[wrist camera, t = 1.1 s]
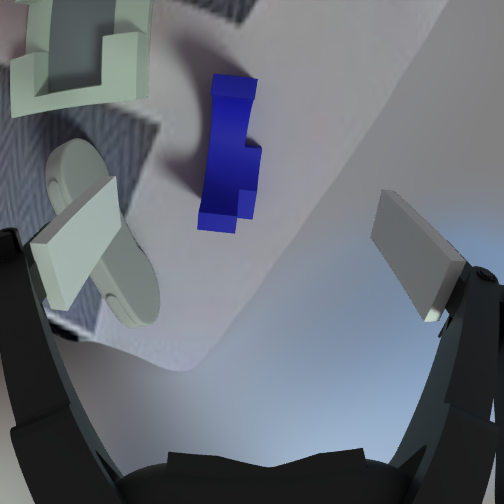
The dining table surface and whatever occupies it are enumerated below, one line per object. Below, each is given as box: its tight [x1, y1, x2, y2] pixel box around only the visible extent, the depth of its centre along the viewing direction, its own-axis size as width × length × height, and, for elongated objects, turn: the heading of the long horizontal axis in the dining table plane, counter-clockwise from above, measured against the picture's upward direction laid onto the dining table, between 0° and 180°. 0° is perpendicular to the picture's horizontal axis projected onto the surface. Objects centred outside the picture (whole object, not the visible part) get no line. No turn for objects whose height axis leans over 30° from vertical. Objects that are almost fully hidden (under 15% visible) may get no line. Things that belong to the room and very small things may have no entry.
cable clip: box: [197, 74, 262, 234], centre depth 25 cm, size 12×4×6 cm, turn 172°
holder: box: [10, 0, 153, 118], centre depth 18 cm, size 13×18×4 cm
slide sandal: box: [45, 138, 160, 328], centre depth 27 cm, size 20×2×8 cm, turn 15°
